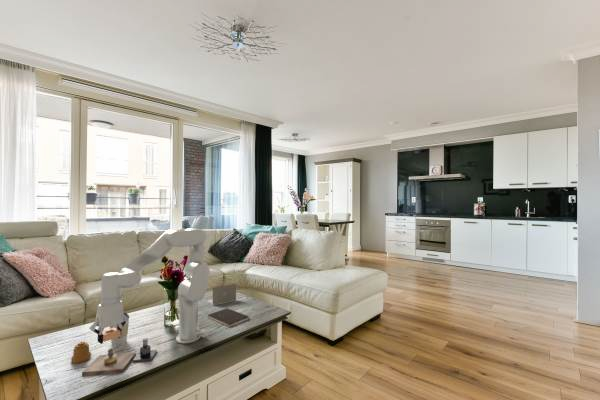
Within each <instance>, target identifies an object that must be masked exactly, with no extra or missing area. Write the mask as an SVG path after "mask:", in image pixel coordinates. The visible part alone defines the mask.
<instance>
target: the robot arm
mask: <svg viewBox="0 0 600 400" xmlns="http://www.w3.org/2000/svg"><path fill="white" fill-rule="evenodd" d="M206 239H207V233H206V232H205V231H204V230H203V229H200V228H195V227H188V228H186V229H184V230H182V229H181V230H180V229H179V230H178V229H167V230H165V231H164V232H163V233H162V234H161V235H160V236H159V237H158V238H157V239H156V240H155V241H154V242H152V244H151V245H150V246H148V247H147V248H146V249H145V250H144V251H142V252H141V253H139V254H138V255H136V256H135V257H133V258H132V259H131V260H130V261H129V262H128V263H126V264H125V265H124V266H123V267H122V268H121V269H120V271H119V272H118V271H117V272H116V271H113V272H112V271H111V272H106V273H104V274H102V276H101V285H100V289H101V290H100V304H98V306H97V309H96V315H95V316H96V317H95V321H94V323H92V325H91V326H89V330H90V331H92V332H93V333H95V334H96V335H97V343H99V344H100V345H102V344H104V341H103V334H102V332H103V331H104V330H105V328H110V326H113V325H117V328H116V329H118V330H120V331H121V329H122V328H123V326H124V325H125V323H126V322H127V321H128V319H129V320H130V316H129V317H127V316H126V315H124V313H125V312H124V306H123V305H124V304H123V301H122V299H124V297H125V295H124V294H121V292H122V289H125V288H129V289H130V288H135V287H136V286H137V287H138V285H140V283H141V281H142V275H141V274H140V272H141V271H142V270H143V269H144V268H146V267H148V266H150V265H151V264H155V263H157V262H160V261H161V260H162V259H163V258H164V257H165V256H166V255H167V254H168V253H169V252H170V251H171V250H172V249H173V248H185V247H188V254H187V259H186V263H185V267H184V273H185V275H186V276H187V277H189V278H190V279H184V280H183V281H181V282H180V283H179V285H178V287H177V297H178V303H179V304H178V305H179V306H178V309H179V311H178V312H179V313H178V328H179V329H178V335H177V336H176V337H175V341H176V342H177V343H179V344H191V343H194V342H197V341H198V340H199V339H200V338H201V337H202V336H205V335H206V333H207V331H206V330H205V329H200V327H199V320H198V319H199V315H198V314H199V307H198V306H199V302H200V301H201V300H202V299H203V298H204V296H205V295H206V292H207V288H208V284H209V279H210V276H211V275H210V274H211V273H210V272H211V271H210V267H209V265H208V264H207V263H206V262H204V259H205V254H206V246H205V241H206ZM123 319H124V320H123ZM96 327H97V329H96ZM118 338H120V337H118Z"/></svg>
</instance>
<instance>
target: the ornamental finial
mask: <svg viewBox="0 0 600 400" xmlns="http://www.w3.org/2000/svg"><path fill="white" fill-rule="evenodd" d="M91 356H92V352H91V351H90V343H89V342H86V341H79V342H78V343H77V344H76V345H74V347H73V355H72V357H71V358H70V361H71V363H73V364H81V363H84V362H87V361H88V360H89V359H91Z"/></svg>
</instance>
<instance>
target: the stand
mask: <svg viewBox="0 0 600 400" xmlns="http://www.w3.org/2000/svg"><path fill="white" fill-rule="evenodd" d="M148 341H149V339H148V338H147V337H146V338H143V339H142V346H141V347H140V348H139V351H138V353H136V356H135V357H134V359H133V360H132V363H141V362H151V361H152V360H153V359H154V357H155V356H156V354H157V353H158V350H157V349H153V350H152V349H151V345H148V343H149V342H148Z"/></svg>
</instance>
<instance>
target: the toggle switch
mask: <svg viewBox="0 0 600 400" xmlns="http://www.w3.org/2000/svg"><path fill="white" fill-rule="evenodd" d="M136 355H137V352H126V353H125V352H124V353H114V349H113V348H111V347H110V348H108V350H107V354H99V355H98V356H97V357H96V358H95V359H94V360H93V361H92V362H91V363H90V364H88V366H87V367H86V368H85V369H84V370H82V371H81V376H82V377H85V376H95V375H108V374H119V373H123V372H124V371H125V370H126V369H127V368H128V366H129V365H130V364H131V363H132V362H133V359H134V358H135V357H136Z"/></svg>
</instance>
